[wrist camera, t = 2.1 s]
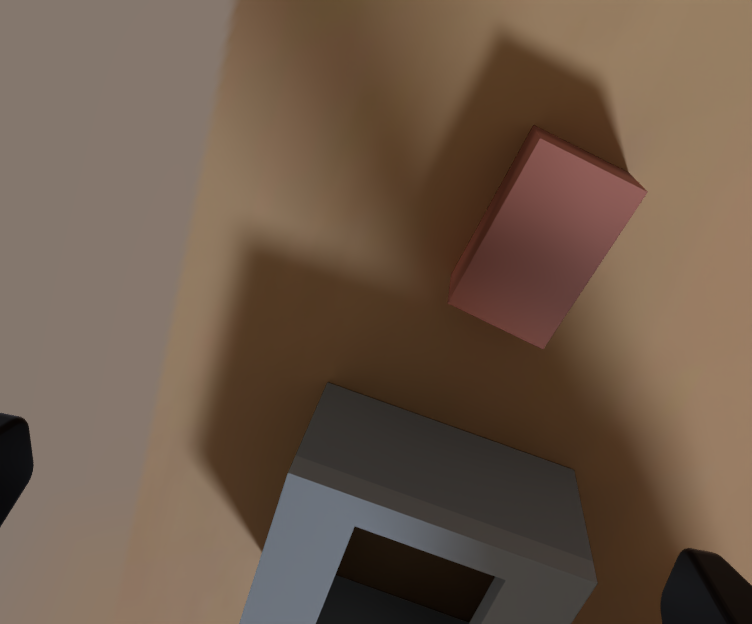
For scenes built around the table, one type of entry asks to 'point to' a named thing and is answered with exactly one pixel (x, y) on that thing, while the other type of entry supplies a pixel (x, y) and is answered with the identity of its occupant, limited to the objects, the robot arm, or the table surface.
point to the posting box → (419, 520)
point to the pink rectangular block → (542, 237)
